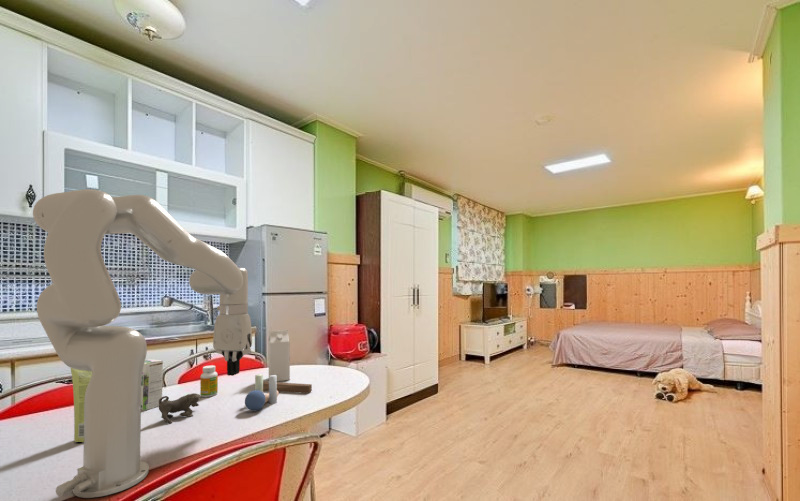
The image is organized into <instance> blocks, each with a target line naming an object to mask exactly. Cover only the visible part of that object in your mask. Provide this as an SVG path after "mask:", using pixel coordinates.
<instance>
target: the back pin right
mask: <svg viewBox="0 0 800 501" xmlns="http://www.w3.org/2000/svg"><path fill="white" fill-rule="evenodd" d="M268 382H269V391H268V393H269V401H268V404H269V405H270V404H277V402H278V396H277V382H278V381H277V375H270V376H269V375H268Z"/></svg>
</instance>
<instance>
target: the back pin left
mask: <svg viewBox="0 0 800 501" xmlns="http://www.w3.org/2000/svg"><path fill="white" fill-rule="evenodd" d="M254 377H255V378H254V379H255V380H254V383H255V385H254V386H255V388H254V390H259V391H261V392H263V393H264V390H263V382H264V374H261V373H259V374H255V376H254Z"/></svg>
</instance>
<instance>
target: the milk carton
mask: <svg viewBox="0 0 800 501" xmlns="http://www.w3.org/2000/svg"><path fill="white" fill-rule="evenodd" d="M290 344H291V343H290V336H289V329H284V330H283V329H282V330H271V331H269V336H268V377H269V376H270V375H277V382H285V381H290V380H291V379H290V377H291V373H290V372H291V371H290V370H291V368H290V366H291V365H290V363H291V361H290V358H291V355H290V354H291V353H290V352H291V351H290V347H291V346H290Z"/></svg>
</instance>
